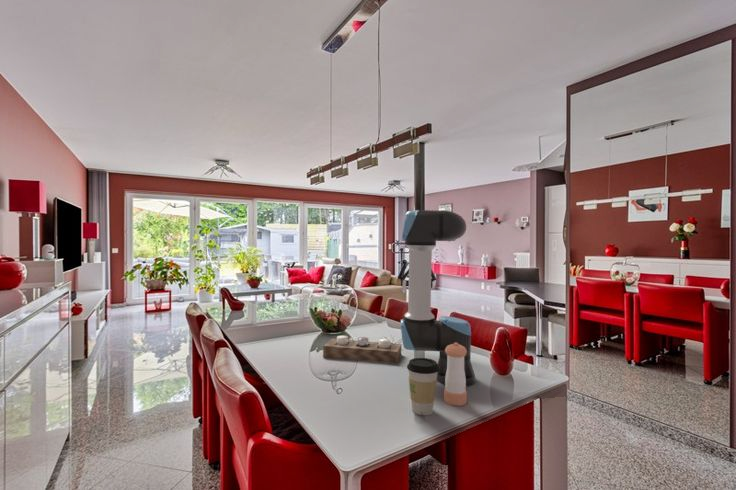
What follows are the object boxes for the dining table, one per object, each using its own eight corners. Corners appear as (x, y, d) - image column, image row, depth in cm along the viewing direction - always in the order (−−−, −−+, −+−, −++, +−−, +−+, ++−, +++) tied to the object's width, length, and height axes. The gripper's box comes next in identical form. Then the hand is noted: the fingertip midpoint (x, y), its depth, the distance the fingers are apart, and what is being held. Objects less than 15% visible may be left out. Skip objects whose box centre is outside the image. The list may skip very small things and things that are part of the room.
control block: (401, 354, 168) (401, 344, 168) (397, 363, 155) (397, 351, 155) (332, 349, 176) (332, 338, 176) (323, 356, 163) (323, 345, 163)
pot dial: (369, 348, 167) (369, 336, 167) (366, 351, 163) (367, 339, 163) (359, 347, 168) (359, 335, 169) (356, 350, 164) (356, 338, 164)
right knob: (390, 349, 165) (390, 339, 165) (388, 353, 160) (388, 341, 160) (379, 349, 166) (380, 338, 166) (377, 352, 161) (377, 341, 161)
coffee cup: (417, 400, 118) (417, 355, 118) (444, 409, 111) (444, 361, 112) (400, 411, 110) (400, 362, 110) (428, 421, 104) (429, 369, 104)
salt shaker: (467, 406, 114) (468, 346, 114) (443, 404, 115) (444, 344, 116) (465, 397, 121) (466, 340, 121) (443, 395, 123) (444, 339, 123)
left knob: (348, 346, 170) (348, 336, 170) (345, 349, 165) (345, 338, 165) (338, 345, 171) (338, 335, 171) (335, 348, 166) (335, 337, 166)
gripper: (442, 253, 183) (442, 294, 183) (397, 252, 195) (396, 291, 195) (438, 253, 177) (437, 296, 177) (391, 252, 188) (391, 292, 188)
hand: (416, 293), depth 186 cm, fingers open, 13 cm apart
